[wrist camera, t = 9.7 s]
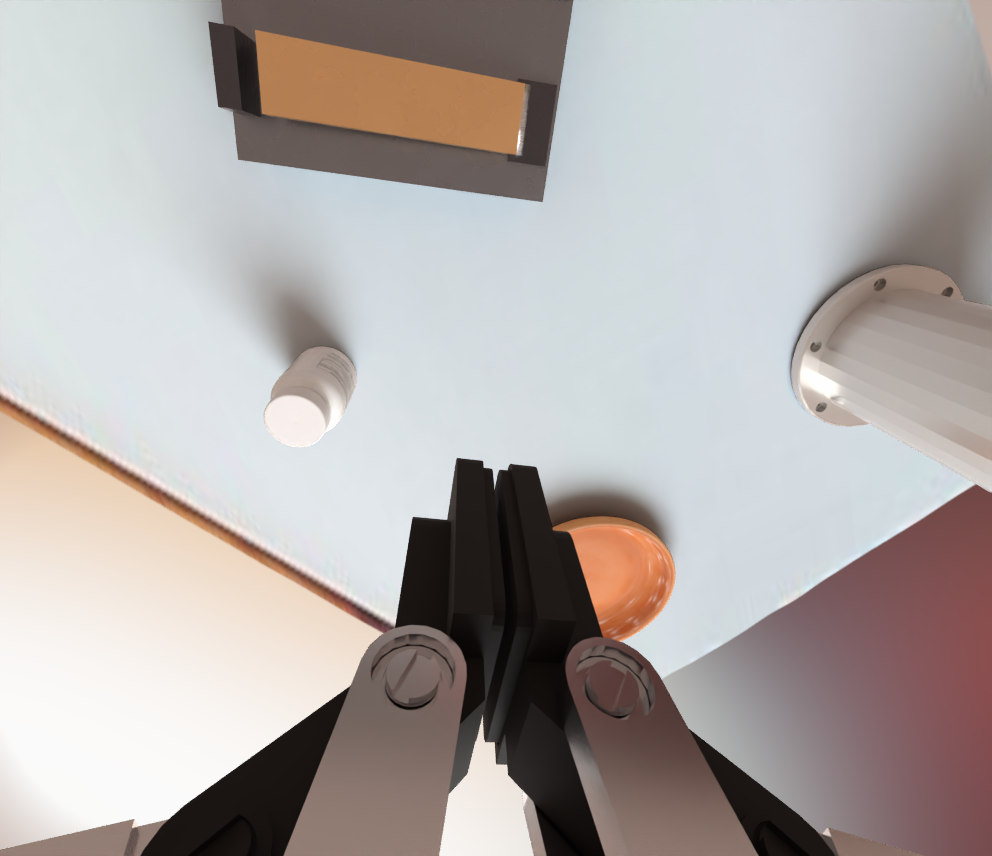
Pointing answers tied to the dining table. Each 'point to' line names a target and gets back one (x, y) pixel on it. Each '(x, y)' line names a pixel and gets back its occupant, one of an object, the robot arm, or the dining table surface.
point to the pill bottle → (310, 396)
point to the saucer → (622, 572)
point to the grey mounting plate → (410, 36)
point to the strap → (389, 95)
